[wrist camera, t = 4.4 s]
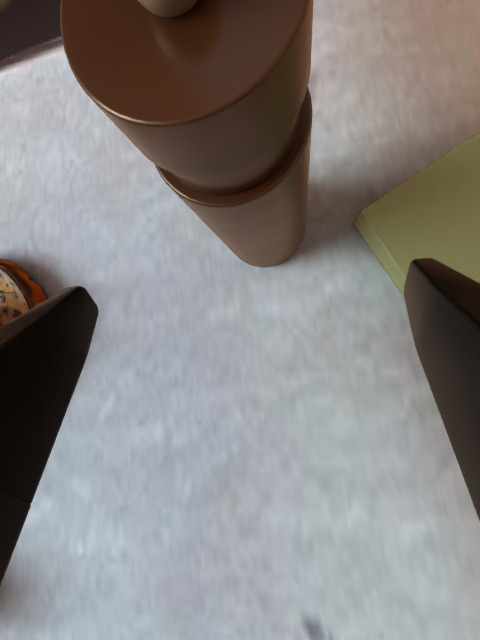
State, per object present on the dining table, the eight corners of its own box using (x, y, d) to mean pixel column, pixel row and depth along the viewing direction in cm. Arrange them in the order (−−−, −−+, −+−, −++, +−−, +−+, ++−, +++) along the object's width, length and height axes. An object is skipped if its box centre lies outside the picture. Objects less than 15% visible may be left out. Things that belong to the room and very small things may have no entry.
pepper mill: (321, 237, 18) (416, -129, 3) (253, 282, 18) (87, 148, 4) (277, 172, 18) (192, -394, 4) (212, 219, 19) (-62, -100, 5)
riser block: (566, 256, 15) (605, 247, 13) (429, 334, 17) (446, 336, 15) (477, 141, 16) (501, 116, 14) (352, 223, 17) (359, 211, 15)
